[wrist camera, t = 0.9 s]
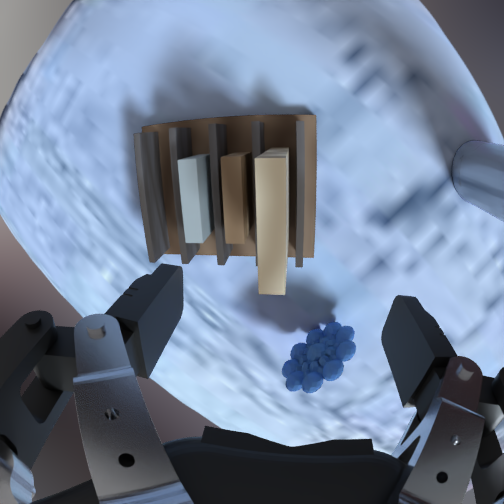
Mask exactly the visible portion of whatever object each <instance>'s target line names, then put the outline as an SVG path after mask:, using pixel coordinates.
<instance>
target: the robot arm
mask: <svg viewBox="0 0 504 504" xmlns="http://www.w3.org/2000/svg"><path fill="white" fill-rule="evenodd" d="M452 177H453V183H454V186H455V188H456V190H457V192H458V194H459V195H460V196H461V197H462V198H463V199H464V200H465V201H467V202H469V203H471V204H472V205H474V206H476V207H478V208H480V209H482V210H483V211H485V212H487V213H489V214H491V215H492V216H494V217H496V218H498V219H499V220H501V221H503V222H504V145H500V144H495V143H489V142H483V141H468V142H466V143H464V144H463V145H462V146H461V147H460V148H459V149H458V151H457V153H456V155H455V157H454V160H453V166H452ZM182 312H183V270H182V267H181V266H175V265H169V264H160V265H159V267H158V268H157V269H156V270H155V271H154V272H153V273H152V274H151V275H149V274H146V275H144V276H142V277H140V278H138V279H136V280H135V281H134V282H133V283H132V284H131V285H130V286H129V289H127V290H126V291H125V292H124V293H123V295H121V296H120V297H119V298H118V299H117V301H116V302H115V303H114V304H113V305H112V306H111V307H110V308H109V309H108V311H107V312H106V313H105V314H93V315H89V316H86V317H84V318H83V319H81V320H80V321H79V322H78V323H77V324H76V326H75V327H62V326H55V323H54V320H53V317H52V315H51V314H50V313H48V312H46V311H40V310H39V311H32V312H29V313H27V314H25V315H23V316H22V317H21V318H20V319H19V320H18V321H17V322H16V323H15V324H14V325H13V326H12V327H11V328H10V329H9V330H8V331H7V332H6V333H5V334H4V335H3V336H2V337H1V338H0V504H462V501H463V498H464V496H465V493H466V490H467V487H468V484H469V481H470V478H471V479H472V484H473V489H474V493H475V499H476V504H504V453H502V450H501V447H500V444H499V441H498V439H497V436H496V433H495V431H494V429H495V427H496V426H497V425H498V424H499V423H500V422H501V421H502V420H503V418H504V367H503V368H502V369H501V370H500V371H499V373H498V374H497V376H496V377H495V378H492V377H487V376H483V374H482V371H481V369H480V367H479V366H478V365H477V364H476V363H475V362H474V361H472V360H471V359H469V358H466V357H463V356H457V354H456V353H455V351H454V349H453V347H452V346H451V344H450V342H449V341H448V339H447V338H446V336H445V335H444V333H443V331H442V330H441V328H439V327H440V326H439V325H438V323H437V322H436V320H435V319H434V317H432V316H431V315H430V314H429V313H428V312H427V311H425V310H424V308H423V307H422V305H421V304H420V302H419V301H418V299H417V298H416V297H412V296H402V295H398V296H396V297H395V299H394V301H393V304H392V307H391V309H390V312H389V315H388V317H387V320H386V322H385V325H384V327H383V331H382V337H381V340H382V345H383V348H384V351H385V354H386V357H387V359H388V362H389V365H390V368H391V371H392V374H393V377H394V380H395V383H396V386H397V389H398V392H399V396H400V399H401V402H402V405H403V408H407V407H416V409H417V411H416V412H415V413H414V415H413V416H412V418H411V420H410V422H409V424H408V426H407V428H406V430H405V432H404V434H403V436H402V438H401V439H400V441H399V443H398V445H397V447H396V448H395V450H394V452H393V453H392V455H389V454H386V453H384V452H380V451H376V450H373V444H372V439H350V440H330V441H325V442H320V443H314V444H309V445H303V446H296V447H290V446H285V445H282V444H279V443H276V442H272V441H269V440H266V439H263V438H260V437H257V436H254V435H251V434H249V433H243V432H237V431H230V430H225V429H219V428H214V427H209V426H205V428H204V432H203V435H202V437H187V438H181V439H176V440H172V441H169V442H165V443H163V444H162V443H161V441H160V438H159V436H158V434H157V431H156V429H155V426H154V424H153V422H152V419H151V417H150V414H149V412H148V409H147V407H146V404H145V401H144V399H143V396H142V393H141V390H140V388H139V385H138V382H137V379H136V376H139V377H143V378H147V379H148V378H149V376H150V375H151V373H152V371H153V369H154V367H155V365H156V363H157V361H158V359H159V357H160V356H161V354H162V352H163V350H164V348H165V346H166V344H167V342H168V341H169V339H170V337H171V335H172V333H173V331H174V329H175V328H176V326H177V324H178V322H179V320H180V318H181V315H182ZM33 369H34V371H35V373H36V375H37V376H36V377H35V378H34V380H33V381H32V383H31V384H30V385H29V387H28V388H27V389H26V391H25V392H24V394H23V395H22V397H21V396H20V388H21V385H22V383H23V382H24V381H25V379H26V378H27V377H28V375H29V374H30V373H31V371H32V370H33ZM73 392H74V394H75V402H76V408H77V415H78V421H79V426H80V431H81V436H82V441H83V445H84V450H85V454H86V458H87V462H88V466H89V470H90V473H91V477H92V479H90V480H88V481H86V482H84V483H81V484H79V485H77V486H74V487H72V488H69V489H67V490H64V491H62V492H59V493H56V494H54V495H51V496H48V497H45V498H43V499H40V500H37V501H34V502H32V497H34V495H35V488H34V479H33V475H32V473H31V471H30V470H31V468H32V466H33V464H34V462H35V460H36V459H37V457H38V455H39V453H40V451H41V449H42V447H43V445H44V443H45V441H46V439H47V438H48V436H49V434H50V432H51V430H52V429H53V427H54V425H55V423H56V421H57V420H58V418H59V416H60V415H61V413H62V411H63V409H64V408H65V406H66V404H67V403H68V401H69V399H70V397H71V396H72V394H73Z"/></svg>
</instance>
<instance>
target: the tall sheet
mask: <svg viewBox="0 0 504 504" xmlns="http://www.w3.org/2000/svg"><path fill="white" fill-rule="evenodd" d="M255 185H256V217H257V252H258V289H259V294H271V295H285V289H286V274H287V259H288V242H289V147H273V148H270V149H269V150H267V151H265V152H264V153H262V154H261V155H259V156H257V157H256V158H255Z"/></svg>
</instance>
